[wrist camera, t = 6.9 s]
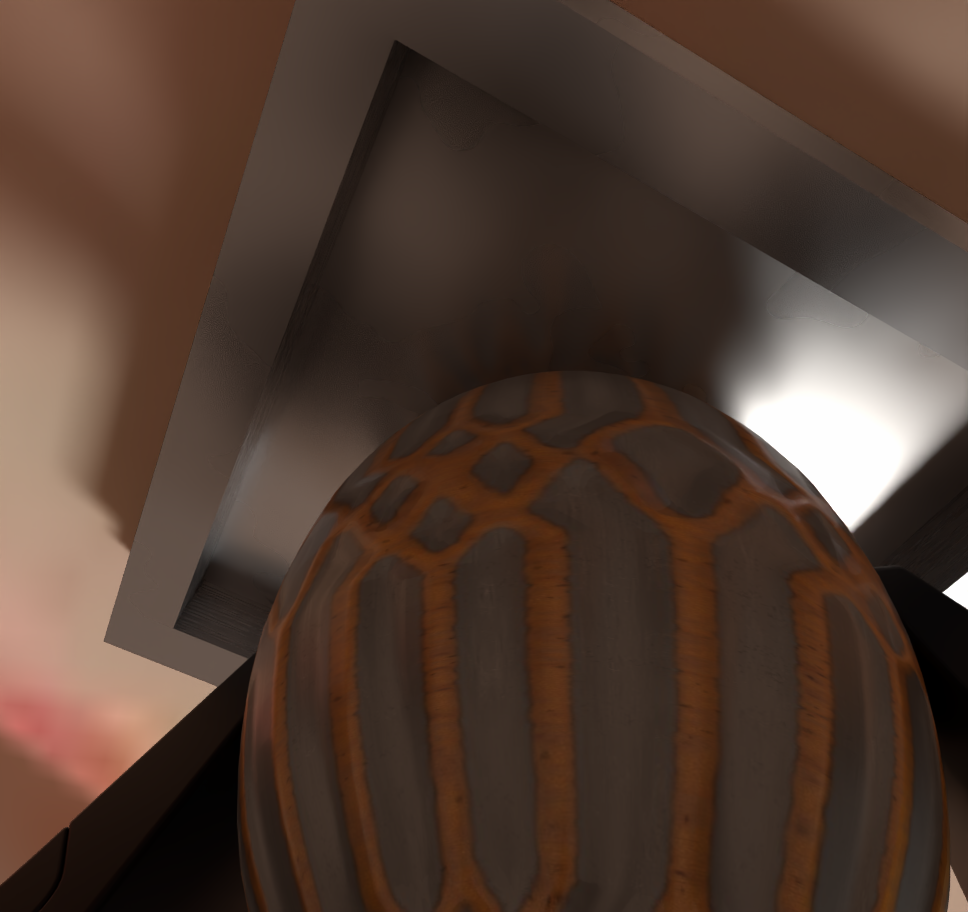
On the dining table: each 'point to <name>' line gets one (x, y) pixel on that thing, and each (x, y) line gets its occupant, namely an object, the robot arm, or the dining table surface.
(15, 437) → the dining table surface
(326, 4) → the grey square tray
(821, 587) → the vase
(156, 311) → the dining table surface
